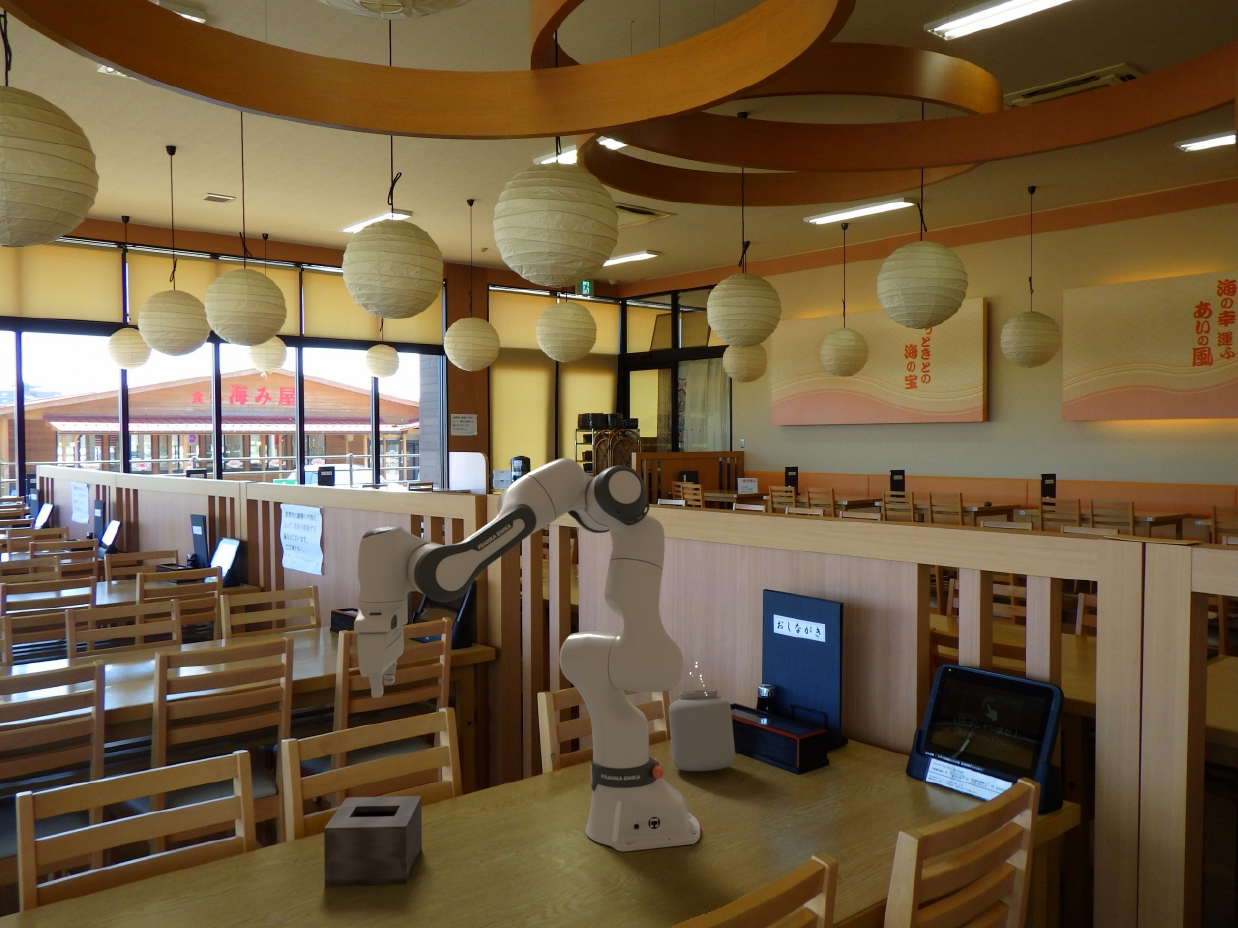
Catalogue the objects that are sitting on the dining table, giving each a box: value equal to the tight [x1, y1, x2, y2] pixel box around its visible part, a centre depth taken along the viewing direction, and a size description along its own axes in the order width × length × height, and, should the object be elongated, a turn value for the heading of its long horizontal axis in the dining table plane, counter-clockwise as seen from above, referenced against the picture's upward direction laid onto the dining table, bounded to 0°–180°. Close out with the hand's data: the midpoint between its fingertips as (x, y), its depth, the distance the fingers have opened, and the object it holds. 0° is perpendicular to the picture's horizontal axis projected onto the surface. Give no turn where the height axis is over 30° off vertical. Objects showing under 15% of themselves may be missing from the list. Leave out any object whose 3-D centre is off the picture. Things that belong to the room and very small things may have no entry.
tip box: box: [323, 795, 423, 887], centre depth 159 cm, size 14×14×10 cm
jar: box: [668, 661, 736, 772], centre depth 210 cm, size 19×15×25 cm
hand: (383, 690), depth 163 cm, fingers open, 8 cm apart
